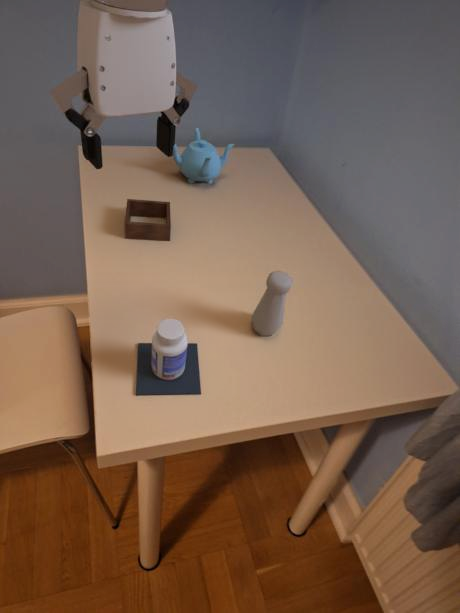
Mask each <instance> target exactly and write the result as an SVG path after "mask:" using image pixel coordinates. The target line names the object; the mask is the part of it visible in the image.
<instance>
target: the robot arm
mask: <svg viewBox="0 0 460 613" xmlns="http://www.w3.org/2000/svg"><path fill="white" fill-rule="evenodd" d="M168 5H169V0H80V1H79V7H78V17H77V35H76V36H77V37H76V38H77V39H76V55H77V56H76V63H77V64H76V65H77V66H76V68H77V72H76V73H74V74H73V75H71V76H70V77H68V78H66V79H65V80H63V81H62V82H61V83H59V84H57V85H56V86H55V87H53V88H51V89H50V91H49V92H50V93H49V94H50V97H51V98H52V100H53V102H54V103H55V104H56V106H57V107H58V109H59V111H60V112H61V114H62V115H63V116H64V117H65V118H66V119H67V120H68V121H69V122H70V123H71V124H72V125H73V126H75V127H76V128H77V129H78V130H79V131H80V141H81V150H82V156H83V157H84V159H85V160H86V161H88V162H89V163H90V164H91V165H92V166H93V167H94V169H96V170H102V168H103V166H104V164H103V163H104V162H103V151H102V150H103V149H102V138H101V136H100V135H99V134H98V133H97V131H98V130H99V128H100V127H101V126H102V124H103V123H104V121H105V119H107V118H109V119H110V118H111V119H112V118H122V117H131V116H139V115H149V114H150V115H151V114H158V113H160V115H161V116H157V119H156V141H155V142H156V143H155V144H156V145H155V146H156V148H157V149H158V150H159V151H160V152H161V153H162V154H164V155H165V156H166V157H169V158H170V157H173V146H174V145H175V144H176V129H177V126H178V125H180V124H181V121H182V120H181V118H182V116H183V115H184V114H185V113H186V112H187V110H188V109H189V108H190V102H191V101H192V99H193V97H194V95H195V93H196V91H197V86H198V85H197V84H196V83H195V82H194V81H192V80H191V79H189V78H187V77H186V76H185V75H183V74H182V73H180V72H178V71H177V51H176V38H175V37H176V36H175V27H174V20H173V14H172V12H171V10H169V9H168ZM177 87H179V91H178V95H176V90H177ZM78 95H79V97H80V99H81V101H82V102H83V103H84V104H83V107H82V108H81V109H80V111H76V109H75V108H74V106H73V103H72V99H74V98H75V97H77V96H78Z"/></svg>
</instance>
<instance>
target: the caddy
mask: <svg viewBox="0 0 460 613" xmlns="http://www.w3.org/2000/svg"><path fill="white" fill-rule="evenodd" d="M132 217H140V218H141V217H142V218H155V219H156V218H159V219H165V223H160V222H159V223H158V222H143V221H141V222H140V221H132V220H131V218H132ZM171 224H172V223H171V202H170V201H162V200H161V201H160V200H150V199H149V200H148V199H147V200H146V199H133V198H127V199H126V207H125V216H124V239H125V240H143V241H158V242H159V241H161V242H170V241H171V228H172V225H171Z"/></svg>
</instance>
